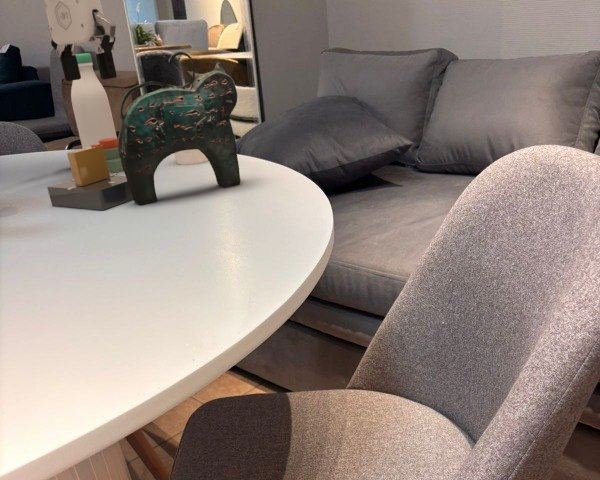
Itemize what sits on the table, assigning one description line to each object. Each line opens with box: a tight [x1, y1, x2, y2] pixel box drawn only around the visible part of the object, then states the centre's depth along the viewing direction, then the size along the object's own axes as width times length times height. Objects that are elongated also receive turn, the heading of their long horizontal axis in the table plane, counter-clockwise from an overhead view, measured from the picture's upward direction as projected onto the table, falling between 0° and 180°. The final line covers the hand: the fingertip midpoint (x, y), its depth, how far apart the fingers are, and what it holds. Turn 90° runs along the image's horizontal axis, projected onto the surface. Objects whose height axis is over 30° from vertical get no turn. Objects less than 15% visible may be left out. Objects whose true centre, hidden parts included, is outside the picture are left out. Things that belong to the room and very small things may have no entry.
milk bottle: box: [70, 52, 118, 149], centre depth 137 cm, size 8×8×20 cm
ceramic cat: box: [117, 51, 241, 206], centre depth 98 cm, size 20×6×20 cm, turn 119°
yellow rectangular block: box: [66, 144, 111, 186], centre depth 101 cm, size 6×2×5 cm, turn 148°
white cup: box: [173, 149, 209, 166], centre depth 124 cm, size 8×8×10 cm
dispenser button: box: [99, 137, 118, 149], centre depth 126 cm, size 4×4×2 cm
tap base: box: [46, 173, 134, 211], centre depth 104 cm, size 12×10×3 cm
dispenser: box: [104, 147, 124, 174], centre depth 127 cm, size 10×8×4 cm
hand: (91, 79), depth 116 cm, fingers open, 9 cm apart
